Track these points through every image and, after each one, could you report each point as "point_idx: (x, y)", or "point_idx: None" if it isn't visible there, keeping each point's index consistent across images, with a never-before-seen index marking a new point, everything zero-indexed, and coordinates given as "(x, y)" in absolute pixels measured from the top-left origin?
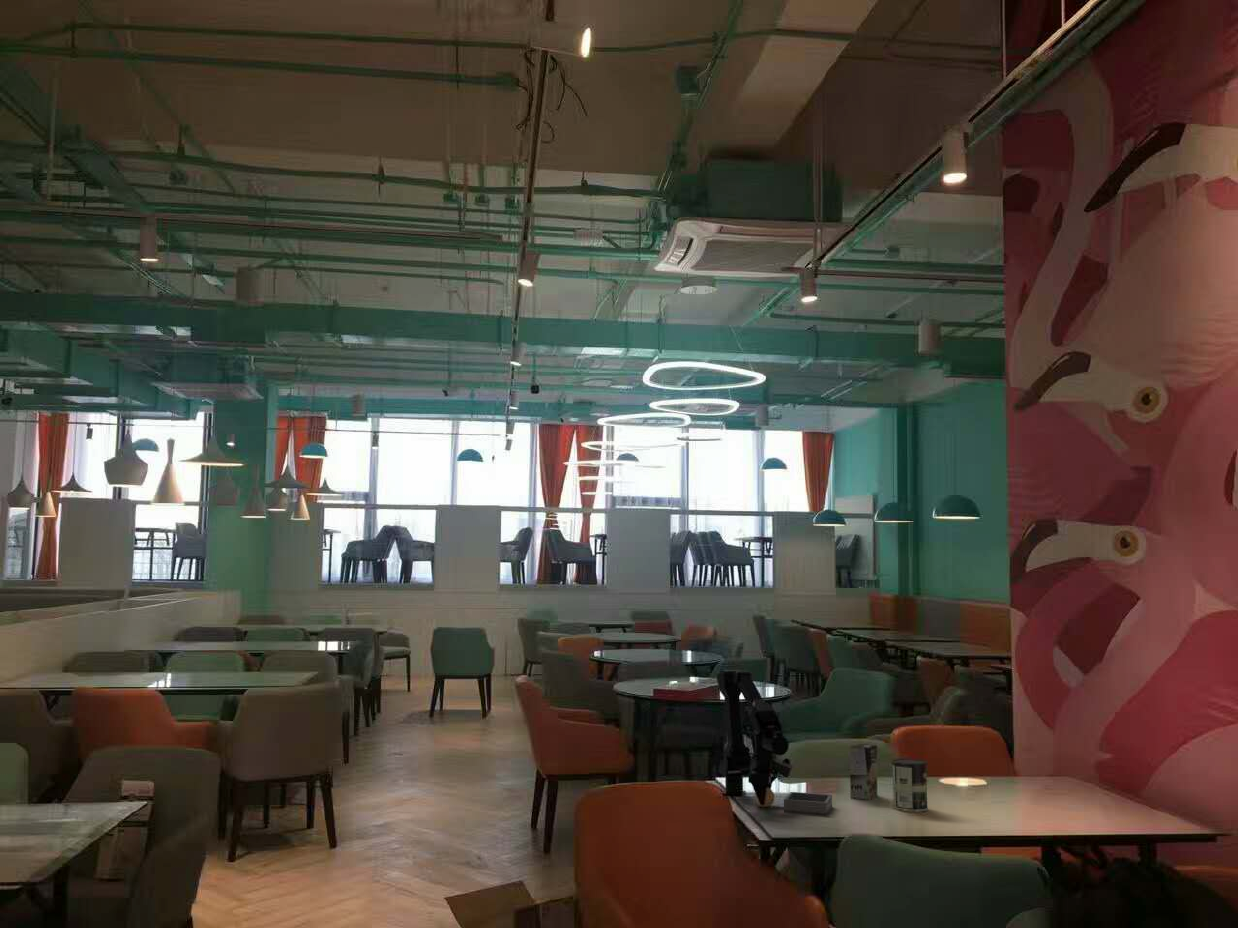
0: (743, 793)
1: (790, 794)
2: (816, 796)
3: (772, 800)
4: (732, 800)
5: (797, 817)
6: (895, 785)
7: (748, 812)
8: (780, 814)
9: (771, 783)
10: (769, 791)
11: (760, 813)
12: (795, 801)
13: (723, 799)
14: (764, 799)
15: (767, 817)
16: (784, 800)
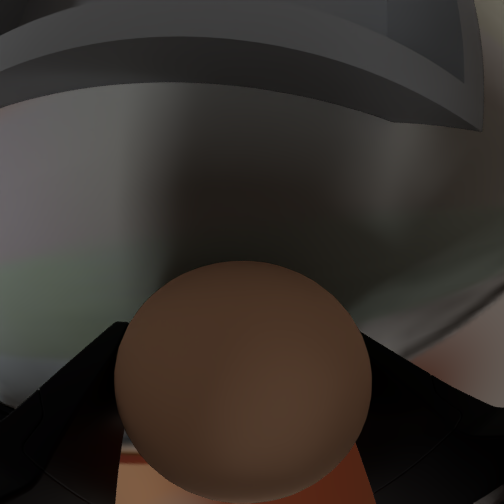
0: (2, 409)
1: (37, 30)
2: None
3: (301, 275)
4: (128, 446)
5: (494, 71)
6: None
7: (413, 348)
8: (466, 162)
9: (30, 473)
10: (348, 397)
11: (441, 289)
12: (465, 10)
13: (132, 461)
14: (386, 348)
15: (501, 238)
16: (473, 123)
